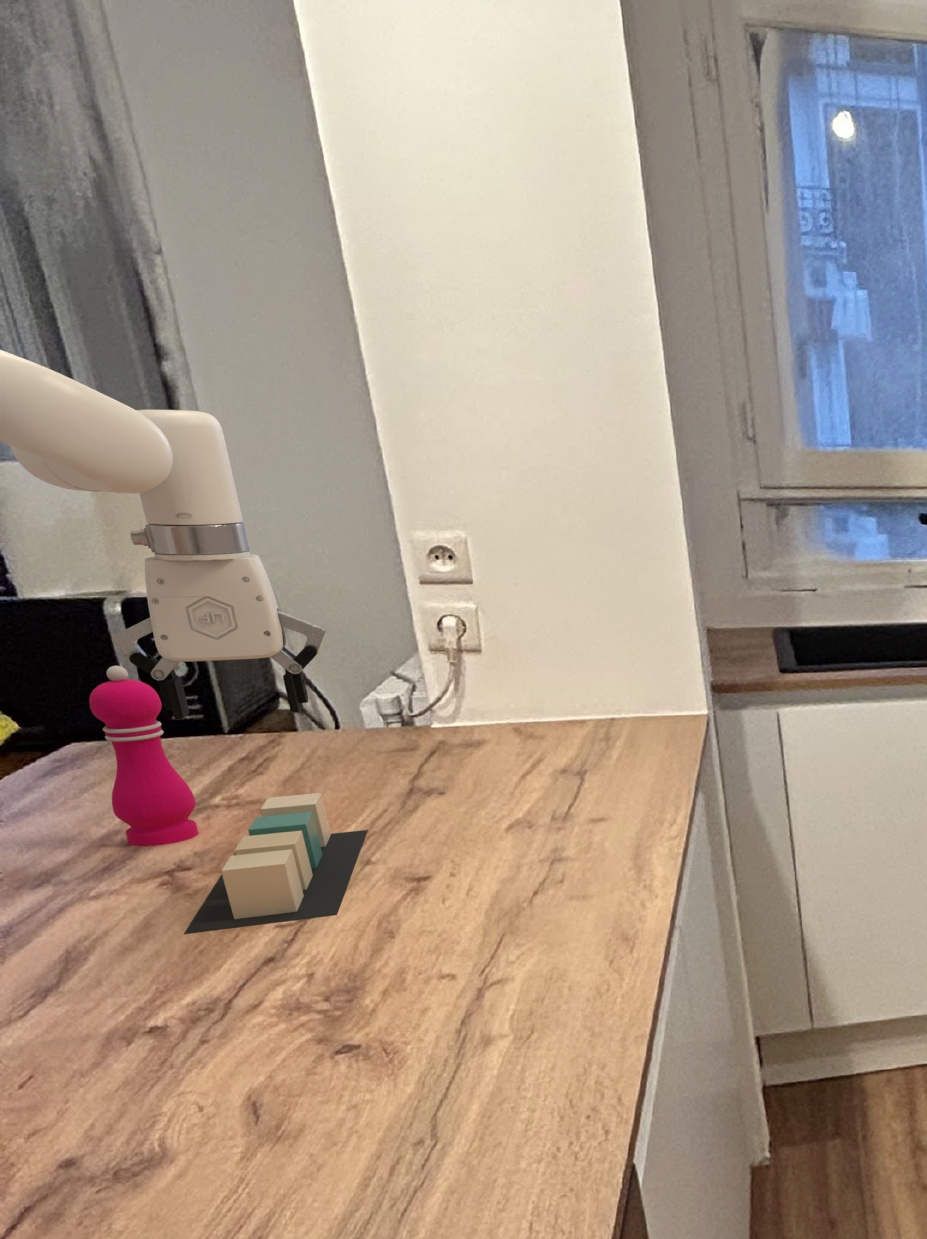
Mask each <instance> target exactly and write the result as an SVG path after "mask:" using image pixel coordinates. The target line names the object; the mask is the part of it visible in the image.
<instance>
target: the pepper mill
mask: <svg viewBox="0 0 927 1239" xmlns="http://www.w3.org/2000/svg"><path fill="white" fill-rule="evenodd" d="M106 676H107V678H108V679H109V681H106V682H102V683H101V684H99V685H97V686H96V687H94V689H93V690H92V691H91V693H90V694H89V702H88V703H89V709H90V711H91V714H93V716H94V717H95V718H97V719H98V720H99V721H101V722H103V723H104V724H105V725H104V727H103V728H102V731H103V732H104V735H105V736H104V738H105V740H106V741H110V742H111V744H112V747H113V750H114V753H115V760H116V774H115V779H114V783H113V787H112V791H111V806H112V812H113V814H114V816H115V817H116V818H117V819H118V820H120V821H122V822H123V823H125V824H127V825H128V826H130V827H129V828H127V829H126V831H125V835H126V839H127V842H128V845H131V846H135V847H154V846H155V847H156V846H163V845H171V844H175V843H180V842H185V841H187V840H190V839H193V838H195V837H196V836H197V837H198V835H199V830H198V826H197V822H196V821H195V820H193V819H189V817H190V816H191V814H192V812H193V811H194V810H195V808H196V805H197V803H196V798H195V795H194V793H193V791H192V790H191V788H190V786H189V785H188V783H187V782H186V781H185V780H184V779H183V778H182V776H181V775H180V774H179V773H178V772H177V771H176V769H175V768H174V767H173V766H172V764H171V763H170V761H169V759H168V757H167V756H166V753H165V751H164V748H163V745H162V740H161V739H162V738H161V736H162V735H163V734H164V733H165V732H164V730H163V729H162V723H161V721H160V720H159V721H158V720H157V718H158V716H159V714H160V713H161V710H162V706H163V704H162V700H161V698H160V696H159V694H158V692H157V691H156V689H154V688H153V687H152V686H151V685H150V684H147V683H145V682H143V681H140V680H136V679H130V678H129V673H128V670H127V669H126V668H124V667H123V666H121V665H112V666H110V667H108V668H107V670H106ZM128 678H129V679H128Z"/></svg>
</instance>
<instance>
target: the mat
mask: <svg viewBox="0 0 927 1239" xmlns="http://www.w3.org/2000/svg"><path fill="white" fill-rule="evenodd" d="M368 831H369V829H362V830H354V831H344V832H333V833H331V836H330V838H329V840H328V843H327V845H326V847H321V851H322V857H321V859H320V862H319V864H318V866H317V868H315V869H311V870H312V874H313V876H312V878H311V881H310V883H309V885H308V887H307V890H302V891H303V895H304V897H303V899H302V901H301V903H300V906H299V908H298V910H297V912H291V913H282V914H274V915H266V916H258V917H250V918H242V919H234V916H233V913H232V909H231V905H230V902H229V898H228V894H227V891H226V887H225V883H224V880H223V876H222V873H221V874H220V876H219V877H218V879H217V880H216V883H215V884H214V885H213V886H212V888H211V890H210V892H209V894H208V895H207V897H206V898H205V900H204V901H203V903H202V904H201V906H200V907H199V909H198V910H197V912H196V914H195V916H194V917H193V918H192V920H191V922H190V923H189V924H188V926H187V928H186V929H185V931H184V933H183V935H191V934H198V933H206V932H214V931H221V930H229V929H230V930H231V929H237V928H246V927H255V926H263V925H269V924H279V923H285V922H294V921H301V920H310V919H318V918H326V917H332V916H338V913H339V911H340V908H341V905H342V903H343V900H344V897H345V895H346V893H347V892H346V891H347V889H348V886H349V883H350V880H351V878H352V875H353V873H354V869H355V866H356V864H357V861H358V858H359V856H360V854H361V851H362V848H363V845H364V842H365V839H366V837H367V834H368ZM234 855H235V853H234V854H233V855H232V856H234Z"/></svg>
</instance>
